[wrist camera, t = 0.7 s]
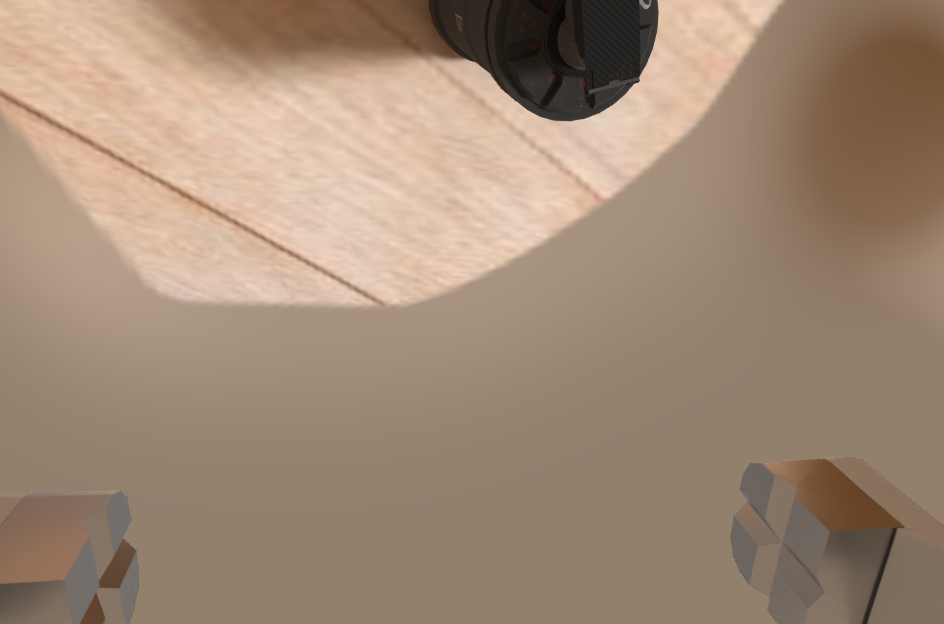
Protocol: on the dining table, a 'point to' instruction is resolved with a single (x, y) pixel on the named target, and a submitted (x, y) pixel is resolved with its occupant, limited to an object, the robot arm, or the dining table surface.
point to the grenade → (554, 48)
